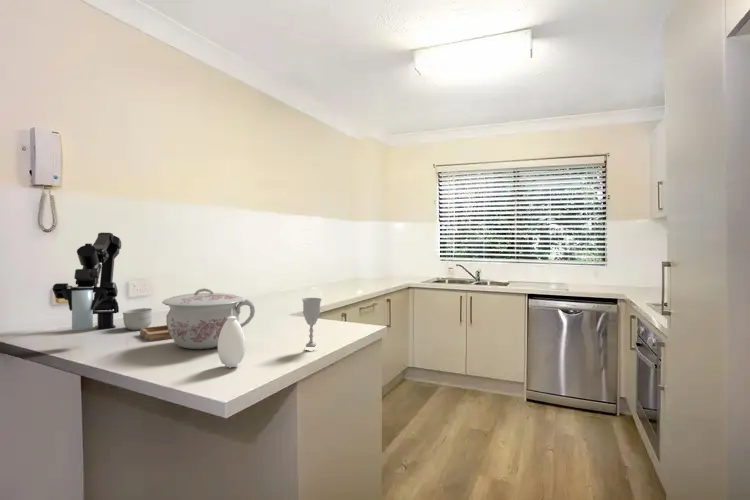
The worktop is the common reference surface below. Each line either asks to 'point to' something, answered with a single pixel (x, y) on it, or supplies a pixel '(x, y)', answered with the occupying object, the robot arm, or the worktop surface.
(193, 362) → the worktop surface
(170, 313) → the chamber pot
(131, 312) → the teacup
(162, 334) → the tray
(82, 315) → the pale blue rounded cylinder
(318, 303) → the chalice
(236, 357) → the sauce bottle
